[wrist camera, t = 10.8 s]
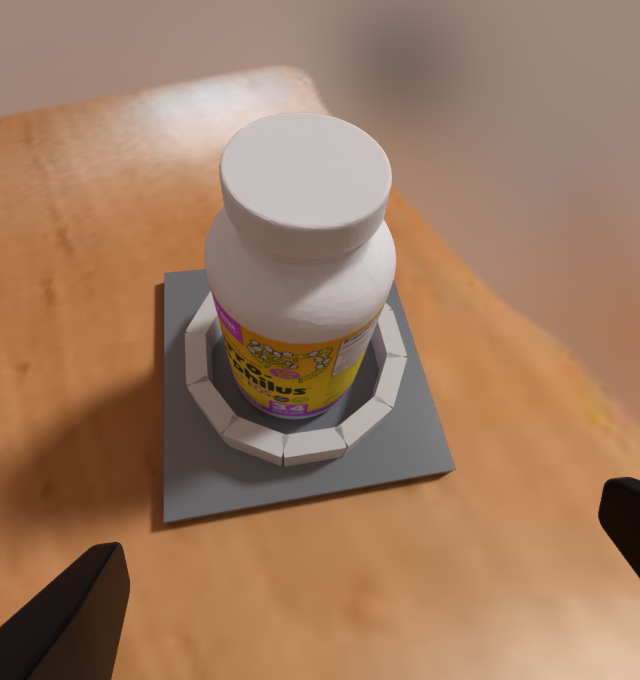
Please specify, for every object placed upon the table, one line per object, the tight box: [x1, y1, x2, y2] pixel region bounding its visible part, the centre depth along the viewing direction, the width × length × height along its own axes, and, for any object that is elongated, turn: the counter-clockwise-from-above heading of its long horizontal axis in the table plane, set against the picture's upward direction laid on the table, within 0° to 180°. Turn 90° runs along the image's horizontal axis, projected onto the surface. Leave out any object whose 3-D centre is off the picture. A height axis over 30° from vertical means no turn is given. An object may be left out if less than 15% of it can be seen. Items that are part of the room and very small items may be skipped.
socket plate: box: [164, 269, 456, 524], centre depth 22 cm, size 14×14×3 cm
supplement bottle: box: [204, 112, 396, 419], centre depth 16 cm, size 7×7×13 cm
